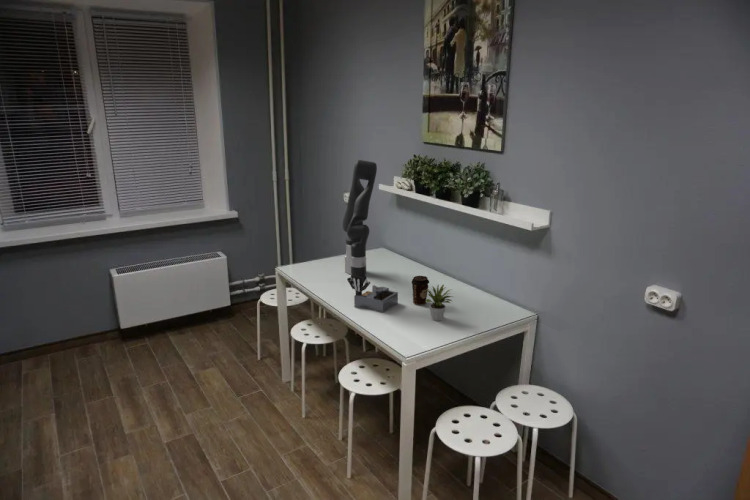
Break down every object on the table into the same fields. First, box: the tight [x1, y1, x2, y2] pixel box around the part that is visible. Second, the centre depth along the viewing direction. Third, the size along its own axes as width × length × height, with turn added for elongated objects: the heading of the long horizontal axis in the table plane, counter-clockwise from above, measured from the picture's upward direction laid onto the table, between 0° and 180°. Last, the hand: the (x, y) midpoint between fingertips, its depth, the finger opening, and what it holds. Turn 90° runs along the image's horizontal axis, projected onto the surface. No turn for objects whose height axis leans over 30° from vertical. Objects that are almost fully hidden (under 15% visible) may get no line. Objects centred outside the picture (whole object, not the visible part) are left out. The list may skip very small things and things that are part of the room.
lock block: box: [362, 290, 382, 300], centre depth 244 cm, size 8×9×4 cm
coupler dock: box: [353, 284, 399, 313], centre depth 240 cm, size 16×17×9 cm
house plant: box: [424, 283, 453, 322], centre depth 222 cm, size 14×14×16 cm
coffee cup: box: [411, 275, 430, 306], centre depth 241 cm, size 9×8×13 cm
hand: (358, 297), depth 246 cm, fingers closed
